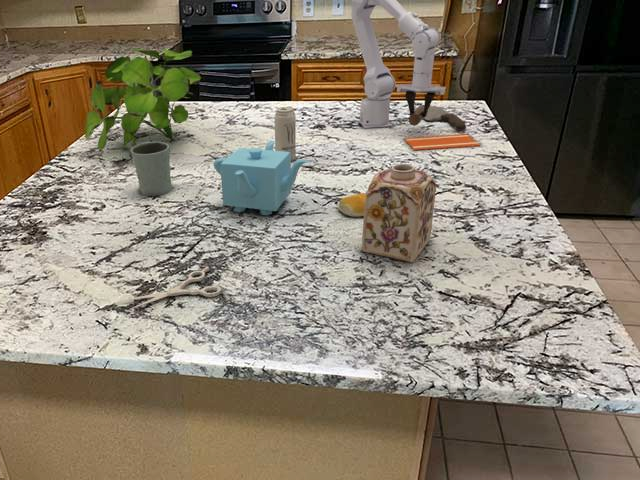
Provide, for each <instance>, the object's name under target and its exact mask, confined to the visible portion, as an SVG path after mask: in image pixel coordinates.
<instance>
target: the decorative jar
mask: <svg viewBox="0 0 640 480" xmlns="http://www.w3.org/2000/svg"><path fill="white" fill-rule="evenodd" d="M436 191H437V182H436V181H435V180H434V179H433V177H432V176H431V175H429V174H428V173H426V171H424V170H421V169H416V167H415V165H413V164H408V163H398V164H395V165H393V166H391V168H387V169H382V170H380V171H378V172H377V173H375V174H374V176H373V177H372V180H371V181H370V183H369V185H368V187H367V190H366V191H365V193H366V198H365V208H364V216H363V221H362V238H361V251H362V252H364V253H368V254H373V255H377V256H382V257H386V258H390V259H395V260H399V261H404V262H407V263H414V262H415V260H416V259H417V258H418V257H419V255H420V254H422V253H421V252H423V250H424V249H425V247H426V246H427V244H428V243H429V242H430V240H431V236H432V235H431V234H432V226H433V220H434V219H433V218H434V209H435V203H436V202H435V201H436Z"/></svg>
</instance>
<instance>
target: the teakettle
mask: <svg viewBox="0 0 640 480" xmlns="http://www.w3.org/2000/svg"><path fill="white" fill-rule="evenodd" d="M274 146H275V140H270V141H268V142H266V146H265V149H263V148H261V147H252V148H245V147H238V148H237V149H235V151H234V152H232V153H231V154H230V155H228V157H219V158H216V159H214V160H213V167H214V169H215V171H216V172H217V173H218V174H219V176H220V182H221V194H222V206H228V207H229V206H230V207H234V208H233V211H234V212H236V213H243V212H244V211H246V208H247V209H252V210H253V209H254V210H259V213H260V215H262V216H270V215H272V214H273V212H277V210H279V208H280V207H281V206H282V205H283V203H284V202H285V201H286V200H287V198H288V197H289V196H290V195H291V194H292V187H293V185H294V184H295V181H296V179H297V176H298V173H299V170H300V168H301V166H303V165H305V164H306V163H308V162H310V159H302V158H301V159H297V160H295V161H294V162H293V163H292V161H291V153H290V152H284V151H275V150H274ZM291 164H292V165H291Z"/></svg>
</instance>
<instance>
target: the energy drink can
mask: <svg viewBox="0 0 640 480" xmlns="http://www.w3.org/2000/svg"><path fill="white" fill-rule="evenodd" d="M296 133H297V131H296V113H295V111H294V107H291V106H281V107H278V108H276V112H275V114H274V151H284V152H290V153H291V162H293V161H294V159H295V158H296V156H297V155H296V151H297V150H296V149H297V148H296V147H297V146H296V144H297V143H296V139H297V138H296V136H297V135H296Z"/></svg>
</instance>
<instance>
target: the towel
mask: <svg viewBox="0 0 640 480" xmlns="http://www.w3.org/2000/svg"><path fill="white" fill-rule="evenodd" d="M403 140H404V141H405V143H406V144H407V145H409V146H410V148H411V149H412V150H413V151H415V152H416V151H428V150H429V151H430V150H442V149H444V150H445V149H457V148H470V147H471V148H472V147H481V144H480V143H479V142H478V141H476V140H475V139H473V137H471V136H470V135H469V134H467V133H459V134H446V135H445V134H444V135H433V136H417V137H405V138H403Z"/></svg>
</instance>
